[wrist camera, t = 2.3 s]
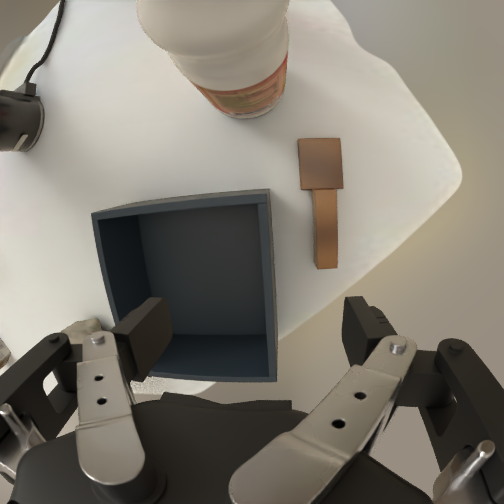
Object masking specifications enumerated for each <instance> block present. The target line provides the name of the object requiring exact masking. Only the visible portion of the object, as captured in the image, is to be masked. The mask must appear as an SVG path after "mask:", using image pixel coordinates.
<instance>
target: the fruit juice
mask: <svg viewBox="0 0 504 504" xmlns="http://www.w3.org/2000/svg"><path fill="white" fill-rule="evenodd" d="M288 5H289V0H137V16H138V20H139V23H140V25H141V27H142V29H143V30H144V32H145V33H146V34H147V36H148V37H149V38H150V39H151V40H152V41H153V42H154V43H155V44H156V45H157V46H159V47H160V48H162V49H164V50H165V51H167V52H168V54H169V56H170V58H171V59H172V61H173V63H174V64H175V65H176V67H177V68H178V69H179V71H180V72H181V73H182V74H183V75H184V76H185V77H186V78H187V79H188V80H189V81H190V82H191V83H192V84H193V85H194V86H195V87H196V88H197V89H198V90H199V91H200V92H201V93H202V94H203V95H204V96H205V97H206V98H207V99H208V100H209V102H210V103H211V104H212V105H213V106H214V107H215V108H216V109H217V110H219V111H220V112H222V113H224V114H226V115H228V116H231V117H235V118H243V119H245V118H254V117H257V116H260V115H263V114H265V113H267V112H268V111H270V110H271V109H272V108H273V107H274V106H275V105H276V104H277V103H278V102H279V100H280V99H281V97H282V95H283V92H284V89H285V81H286V69H287V56H288V46H289V29H288V23H287V19H286V16H285V15H286V12H287V9H288Z"/></svg>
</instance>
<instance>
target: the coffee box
mask: <svg viewBox="0 0 504 504" xmlns="http://www.w3.org/2000/svg"><path fill="white" fill-rule="evenodd" d="M9 356H10V351H9V350H8V348H7V347H6V346H5V344H4V343H3V341H2V340H1V339H0V369H1V368H2V367H3V366H5V365H6V364H7V361H8V358H9Z"/></svg>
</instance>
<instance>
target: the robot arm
mask: <svg viewBox="0 0 504 504" xmlns="http://www.w3.org/2000/svg"><path fill="white" fill-rule="evenodd" d="M64 2H65V0H61V2H60V5H59V11H58V16H57V20H56V23H55V26H54V29H53V32H52V35H51V39H50V42H49V45H48V47H47V49H46V51H45V53H44V55H43V57H42V58H41V60H40V61H39V62H38V63H36V64H35V65H34V66H33V67H32V68H31V70H30V71H29V73H28V75H27V77H26V79H25V81H24V84H23V85H21V86H20V87H19V88H17V89H16V90H15V91H8V90H0V151H27V150H29V149H30V148H32V147H33V145H34V144H35V143H36V141H37V139H38V137H39V135H40V132H41V129H42V125H43V119H44V111H43V107H42V104H41V103H40V101H39V99H40V97H39V96H35V93H36V84H34V83H30V82H29V80H30V78H31V76H32V74H33V72H34V71H35V70H36V69H37V68H38V67H39V66H41V65H42V64H43V63H44V61H45V60H46V58H47V56H48V54H49V52H50V50H51V48H52V46H53V43H54V40H55V37H56V34H57V30H58V27H59V24H60V21H61V18H62V13H63V7H64ZM172 335H173V328H172V323H171V317H170V312H169V306H168V302H167V299H166V298H158V297H150V298H148V299H147V300H146V301H145V302H144V303H143V304H142V305H141V306H140V307H138V308H136V309H134V310H132V311H131V312H130V313H129V314H128V315H127V316H126V317H124V318H123V319H122V321H120V322H119V323H118V324H117V325H116V326H115V327H114V328H113V329H111V330H110V331H98V332H94V333H92V334H89V335H88V336H86V337H85V338H84V340H83V344H71V343H70V340H69V337H68V335H67V334H65V333H53V334H50V335H48V336H46V337H45V338H44V339H42V340H41V341H40V342H39V343H38V344H36V345H35V346H34V347H33V348H32V349H30V350H29V351H28V352H27V353H26V354H25V355H24V356H22V357H21V358H20V359H19V360H18V361H17V362H16V363H14V364H13V365H12V366H11V367H10V368H9V369H8V370H7V371H5V372H4V373H3V374H2V375H1V376H0V474H1V475H2V476H3V477H4V478H5V479H6V480H7V481H8V482H9V483H11V484H13V485H14V488H13V491H12V494H11V497H10V499H9V502H8V503H7V504H504V389H503V388H502V386H501V385H500V384H499V382H498V381H497V380H496V378H495V377H494V376H493V374H492V373H491V372H490V370H489V369H488V368H487V366H486V365H485V364H484V363H483V361H482V360H481V359H480V358H479V356H478V355H477V354H476V353H475V351H474V350H473V349H472V348H471V346H469V344H467V343H466V342H464V341H462V340H459V339H453V338H450V339H445V340H442V341H441V342H440V343H439V345H438V348H437V351H423V350H417V345H416V343H415V342H414V341H413V340H412V339H410V338H408V337H405V336H400V335H398V334H397V333H396V331H395V330H394V328H393V327H392V325H391V324H390V323H389V321H388V319H387V318H386V317H385V315H384V314H383V312H382V311H381V310H379V309H378V308H376V307H374V306H368V304H367V303H366V301H365V299H364V298H363V297H362V296H354V297H345V301H344V311H343V322H342V342H343V345H344V348H345V351H346V354H347V357H348V361H349V363H350V367H351V368H350V370H349V371H348V372H347V373H346V374H345V375H344V377H343V378H342V379H341V380H340V381H339V382H338V383H337V385H336V386H335V387H334V388H333V389H332V390H331V391H330V392H329V393H328V395H327V396H326V397H325V398H324V399H323V400H322V401H321V402H320V403H319V404H318V405H317V406H316V407H315V409H313V410H312V411H311V412H310V413H309V414H308V413H305V412H302V411H297V410H292V406H291V405H292V403H291V402H292V401H291V400H256V401H249V402H241V403H233V404H220V403H216V402H212V401H209V400H205V399H202V398H199V397H196V396H192V395H184V394H176V393H169V392H164V393H163V395H162V397H161V399H160V400H152V401H146V402H141V403H138V404H137V403H136V400H135V397H134V394H133V391H132V388H131V385H130V382H131V380H132V381H137V382H143V381H144V380H145V378H146V377H147V375H148V374H149V372H150V371H151V369H152V368H153V366H154V365H155V363H156V362H157V360H158V359H159V357H160V356H161V354H162V353H163V352H164V350H165V349H166V347H167V346H168V344H169V343H170V341H171V339H172ZM51 371H53V373H54V376H55V378H56V380H57V382H58V384H57V386H56V387H55V388H54V389H53V390H52V391H51V392H50V393H49V395H48V396H47V395H46V393H45V391H44V389H43V381H44V379H45V377H46V376H47V375H48V374H49V373H50V372H51ZM454 396H455V398H456V401H457V403H456V401H455V399H454ZM398 406H407V407H418V408H419V411H420V414H421V416H422V419H423V421H424V424H425V427H426V430H427V432H428V435H429V438H430V441H431V444H432V447H433V449H434V453H435V456H436V459H437V462H438V465H439V468H440V472H441V473H440V475H439V476H438V477H437V478H436V480H435V482H434V485H433V500H431V498H430V497H429V496H428V495H427V494H426V493H425V492H423V491H422V490H420V489H419V488H417V487H416V486H414V485H412V484H411V483H409V482H408V481H406V480H405V479H403V478H401V477H400V476H398V475H397V474H395V473H394V472H392V471H391V470H389V469H388V468H386V467H385V466H384V465H382V464H381V463H379V462H378V461H376V460H375V459H374V458H372V457H371V456H372V454H373V452H374V450H375V449H376V447H377V445H378V443H379V441H380V439H381V438H382V436H383V434H384V433H385V431H386V429H387V427H388V426H389V424H390V422H391V420H392V418H393V416H394V415H395V413H396V411H397V409H398ZM77 407H78V415H79V425H78V426H76V429H75V431H73V432H70V433H68V434H65V435H63V436H60V437H57V435H58V434H59V432H60V431H61V430H62V428H63V427H64V425H65V424H66V423H67V421H68V420H69V418H70V417H71V416H72V414H73V413H74V412H75V410H76V409H77ZM56 437H57V438H56Z"/></svg>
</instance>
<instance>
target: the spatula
mask: <svg viewBox="0 0 504 504" xmlns="http://www.w3.org/2000/svg"><path fill="white" fill-rule="evenodd" d="M298 152H299V166H300V181H301V190H309V189H312V200H313V224H314V262H315V265H316V267H317V269H331V268H337V265H338V226H337V192H336V189H343V171H342V156H341V143H340V138H308V139H298Z"/></svg>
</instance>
